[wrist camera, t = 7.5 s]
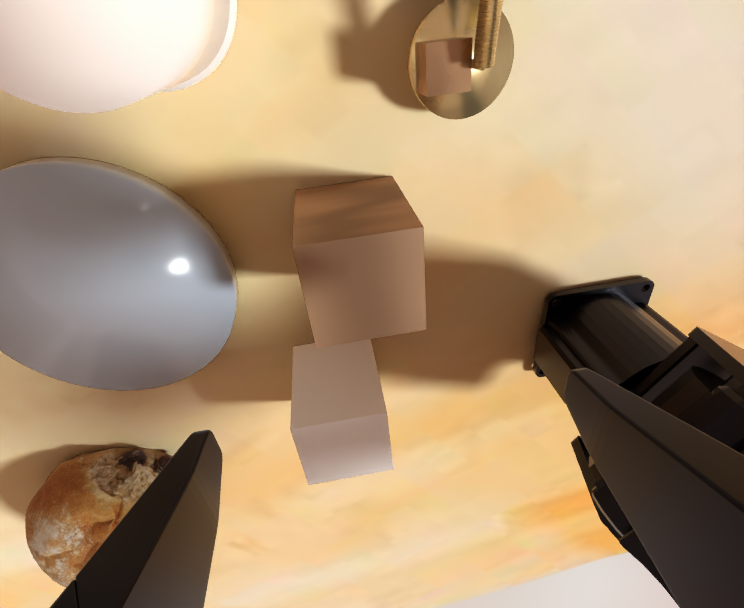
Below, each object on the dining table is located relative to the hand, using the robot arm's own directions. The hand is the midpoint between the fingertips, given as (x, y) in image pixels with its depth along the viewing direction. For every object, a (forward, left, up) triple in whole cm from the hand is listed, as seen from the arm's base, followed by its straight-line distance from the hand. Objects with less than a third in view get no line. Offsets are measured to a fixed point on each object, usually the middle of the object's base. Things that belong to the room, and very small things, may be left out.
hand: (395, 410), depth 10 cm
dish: (+12, +1, -12) cm, 17 cm away
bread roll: (+18, +17, -12) cm, 27 cm away
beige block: (+2, +9, -12) cm, 15 cm away
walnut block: (0, 0, -12) cm, 12 cm away
